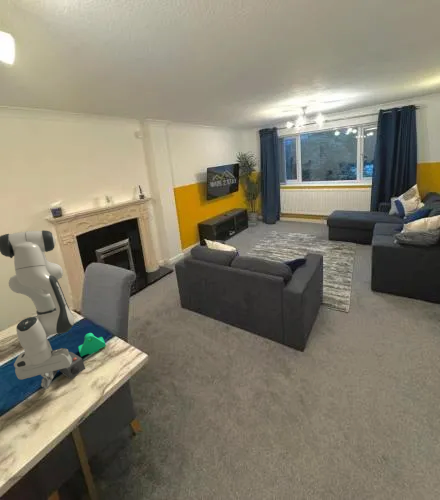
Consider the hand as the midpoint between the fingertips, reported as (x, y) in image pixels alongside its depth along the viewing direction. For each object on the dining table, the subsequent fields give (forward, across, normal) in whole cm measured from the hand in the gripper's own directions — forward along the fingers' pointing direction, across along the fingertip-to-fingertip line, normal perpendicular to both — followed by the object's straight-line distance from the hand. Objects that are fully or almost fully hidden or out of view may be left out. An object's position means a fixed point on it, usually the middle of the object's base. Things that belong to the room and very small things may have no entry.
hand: (50, 378), depth 114 cm
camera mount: (+4, -14, -19) cm, 24 cm away
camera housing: (+4, -7, -7) cm, 10 cm away
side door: (+3, +1, -3) cm, 5 cm away
